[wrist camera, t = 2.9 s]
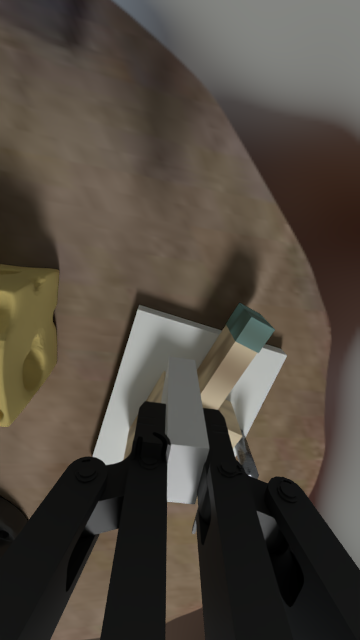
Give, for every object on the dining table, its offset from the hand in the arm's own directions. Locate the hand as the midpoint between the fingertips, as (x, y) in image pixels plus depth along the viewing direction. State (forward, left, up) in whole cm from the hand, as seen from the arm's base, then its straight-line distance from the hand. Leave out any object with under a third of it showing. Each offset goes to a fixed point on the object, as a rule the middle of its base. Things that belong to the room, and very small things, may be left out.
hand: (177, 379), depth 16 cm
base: (-10, -4, -13) cm, 17 cm away
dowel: (-11, -11, -11) cm, 19 cm away
